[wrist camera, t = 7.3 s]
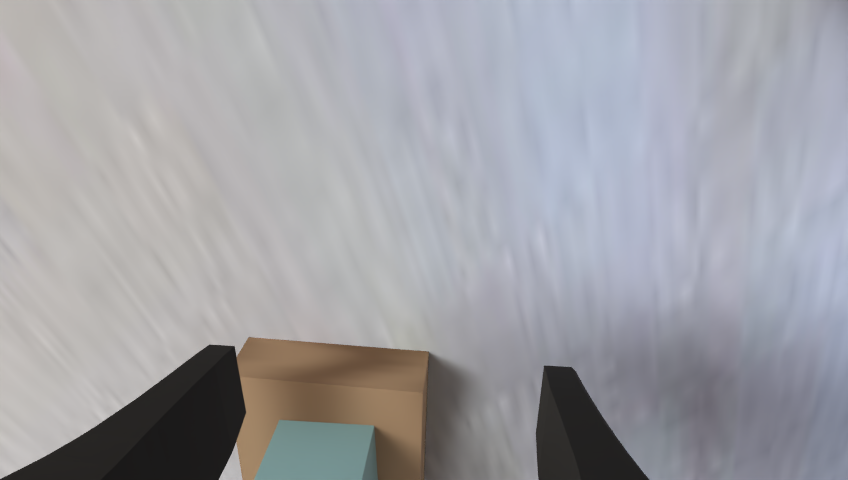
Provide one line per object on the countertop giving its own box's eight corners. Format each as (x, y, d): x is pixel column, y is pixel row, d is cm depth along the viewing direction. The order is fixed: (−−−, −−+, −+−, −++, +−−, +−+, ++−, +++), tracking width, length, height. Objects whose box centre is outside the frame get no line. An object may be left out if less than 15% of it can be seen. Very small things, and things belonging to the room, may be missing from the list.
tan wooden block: (429, 345, 26) (422, 392, 23) (424, 474, 29) (418, 527, 27) (252, 331, 26) (225, 375, 24) (268, 459, 30) (247, 509, 27)
